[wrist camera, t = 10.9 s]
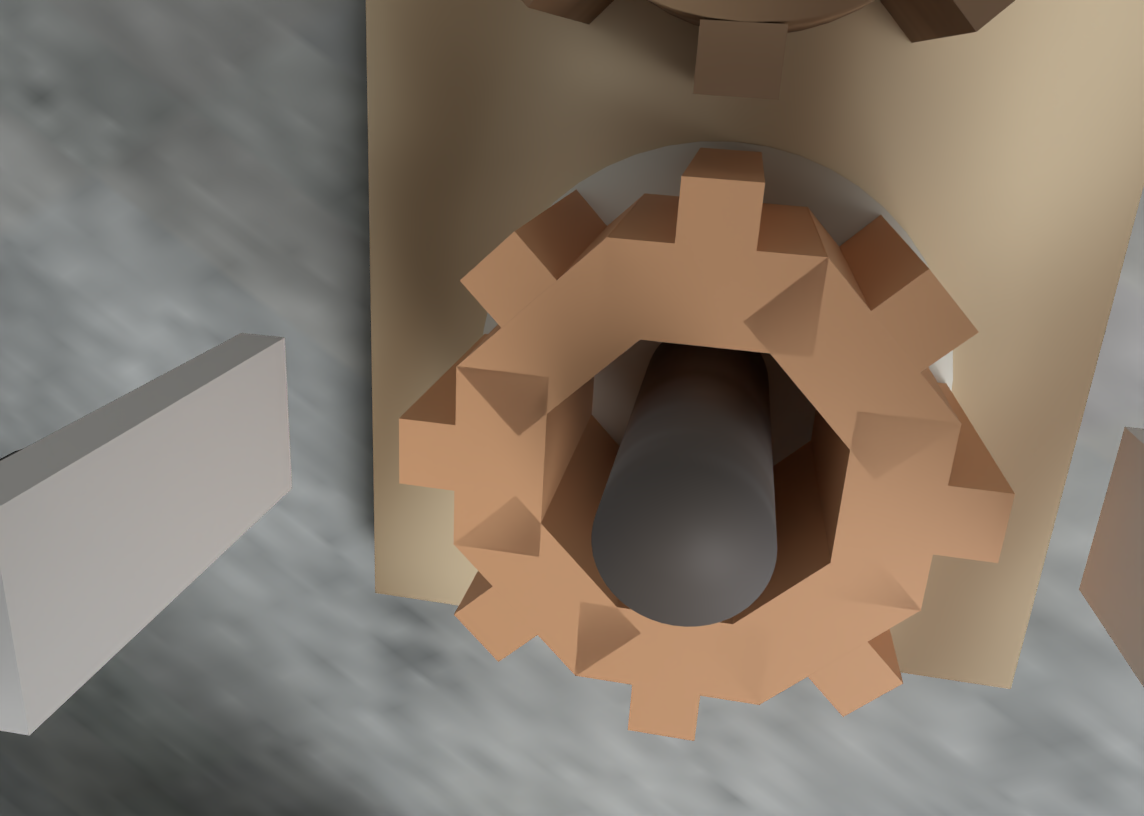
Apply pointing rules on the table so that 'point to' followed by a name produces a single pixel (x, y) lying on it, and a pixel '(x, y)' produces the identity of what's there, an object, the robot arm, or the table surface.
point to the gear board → (792, 177)
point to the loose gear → (801, 481)
